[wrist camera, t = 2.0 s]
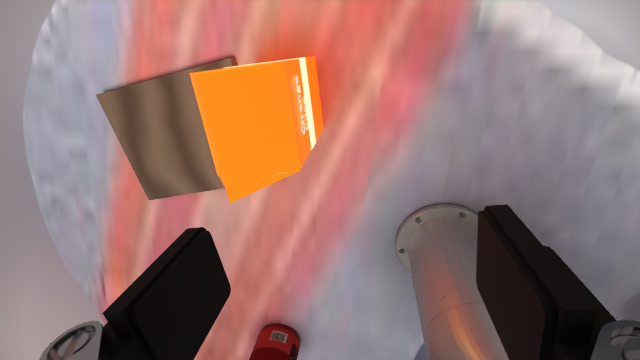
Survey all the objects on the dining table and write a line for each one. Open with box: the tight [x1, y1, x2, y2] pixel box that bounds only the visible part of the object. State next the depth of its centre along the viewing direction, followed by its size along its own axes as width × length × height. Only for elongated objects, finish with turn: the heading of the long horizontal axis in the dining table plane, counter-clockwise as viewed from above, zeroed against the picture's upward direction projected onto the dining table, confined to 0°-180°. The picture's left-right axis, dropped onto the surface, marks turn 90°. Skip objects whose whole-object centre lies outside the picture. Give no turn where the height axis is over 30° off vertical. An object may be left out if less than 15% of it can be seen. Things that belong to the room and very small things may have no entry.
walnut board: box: [96, 57, 238, 200], centre depth 41 cm, size 20×16×2 cm
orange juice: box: [190, 56, 323, 203], centre depth 28 cm, size 8×9×20 cm
